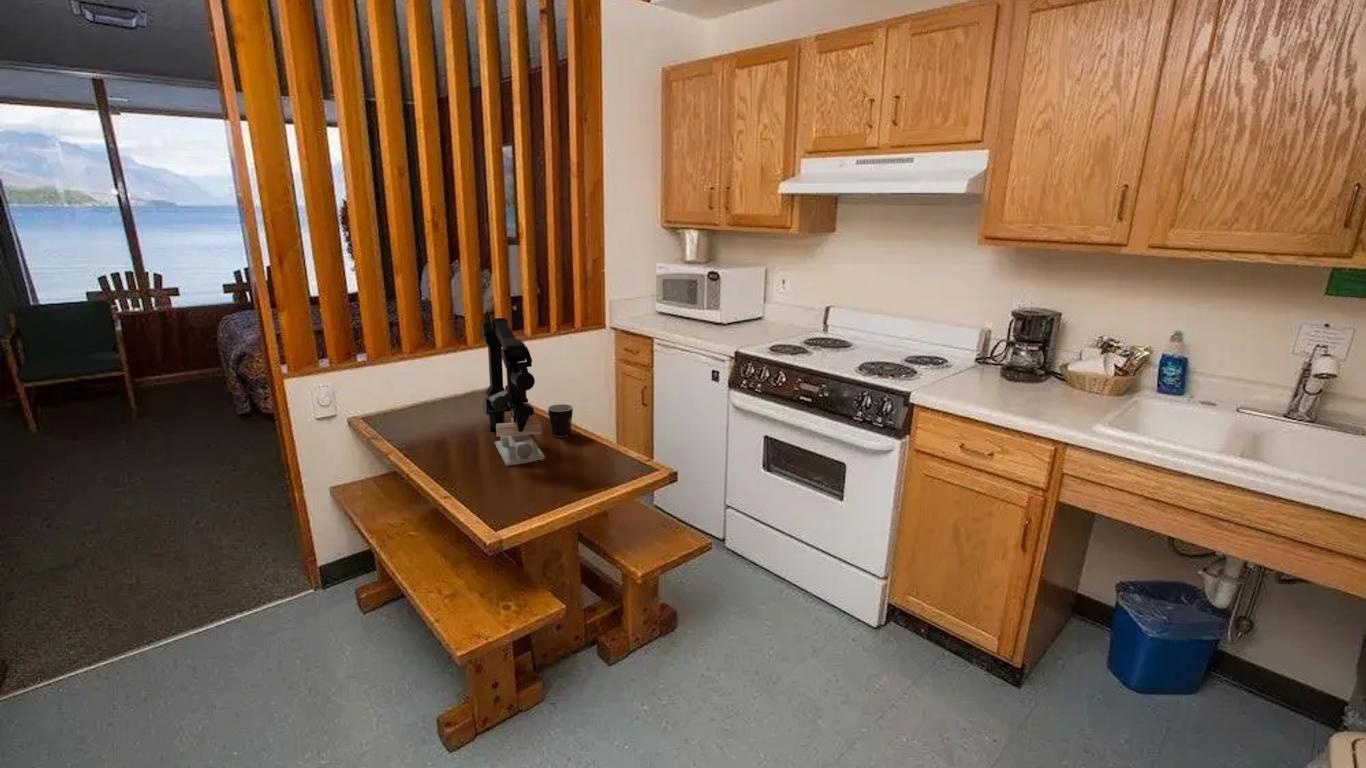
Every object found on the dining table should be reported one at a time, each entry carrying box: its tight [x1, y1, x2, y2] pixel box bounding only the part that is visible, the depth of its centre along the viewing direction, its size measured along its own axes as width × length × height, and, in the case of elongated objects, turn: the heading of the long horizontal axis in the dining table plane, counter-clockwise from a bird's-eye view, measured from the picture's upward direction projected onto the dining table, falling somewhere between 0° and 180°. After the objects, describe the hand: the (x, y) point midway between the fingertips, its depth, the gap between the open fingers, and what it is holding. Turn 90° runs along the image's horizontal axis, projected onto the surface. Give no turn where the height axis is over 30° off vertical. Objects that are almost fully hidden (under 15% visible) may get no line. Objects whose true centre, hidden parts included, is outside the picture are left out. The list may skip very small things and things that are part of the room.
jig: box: [494, 417, 546, 467], centre depth 199 cm, size 21×12×9 cm, turn 27°
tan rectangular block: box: [495, 420, 542, 438], centre depth 196 cm, size 4×14×3 cm, turn 105°
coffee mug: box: [547, 403, 574, 436], centre depth 215 cm, size 12×9×10 cm
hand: (519, 429), depth 196 cm, fingers closed on tan rectangular block, 4 cm apart
